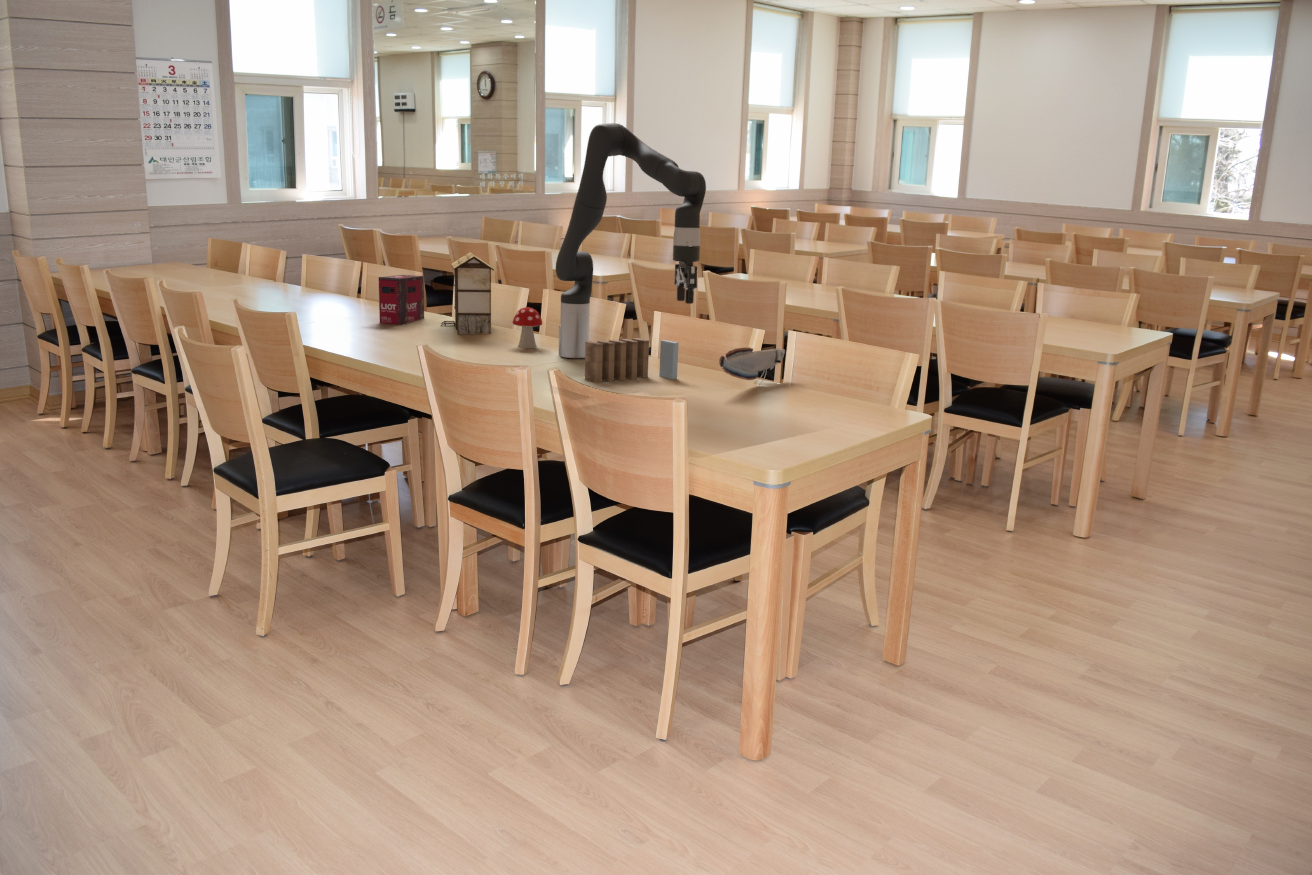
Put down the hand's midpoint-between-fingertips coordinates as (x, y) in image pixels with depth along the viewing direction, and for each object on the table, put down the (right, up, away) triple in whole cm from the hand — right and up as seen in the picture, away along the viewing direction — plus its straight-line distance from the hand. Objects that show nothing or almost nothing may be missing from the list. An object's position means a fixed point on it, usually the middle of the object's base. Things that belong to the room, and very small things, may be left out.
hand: (684, 302), depth 286 cm
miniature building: (-78, -2, +82) cm, 113 cm away
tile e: (-26, -22, +3) cm, 35 cm away
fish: (+19, -24, +3) cm, 31 cm away
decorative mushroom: (-52, -10, +52) cm, 74 cm away
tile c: (-20, -21, +8) cm, 30 cm away
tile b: (-17, -21, +11) cm, 29 cm away
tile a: (-13, -20, +13) cm, 28 cm away
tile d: (-23, -22, +6) cm, 32 cm away
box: (-104, +2, +95) cm, 141 cm away
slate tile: (-5, -21, +12) cm, 24 cm away
